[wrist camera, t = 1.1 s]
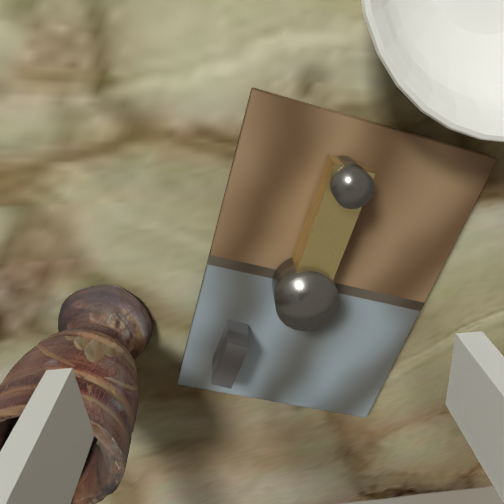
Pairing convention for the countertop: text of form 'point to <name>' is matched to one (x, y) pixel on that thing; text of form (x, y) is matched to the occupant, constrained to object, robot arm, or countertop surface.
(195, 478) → the countertop surface
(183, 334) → the countertop surface
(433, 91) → the bowl
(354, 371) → the board
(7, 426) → the mortar and pestle
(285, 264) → the swing bar
